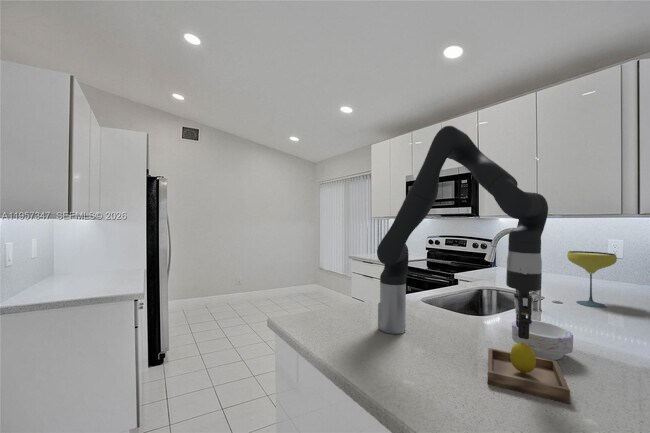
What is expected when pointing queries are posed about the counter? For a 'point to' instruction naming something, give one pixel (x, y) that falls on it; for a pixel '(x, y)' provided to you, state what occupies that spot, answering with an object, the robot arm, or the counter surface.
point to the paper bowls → (546, 340)
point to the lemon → (523, 358)
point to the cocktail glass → (591, 267)
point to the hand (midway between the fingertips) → (522, 332)
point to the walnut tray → (528, 377)
